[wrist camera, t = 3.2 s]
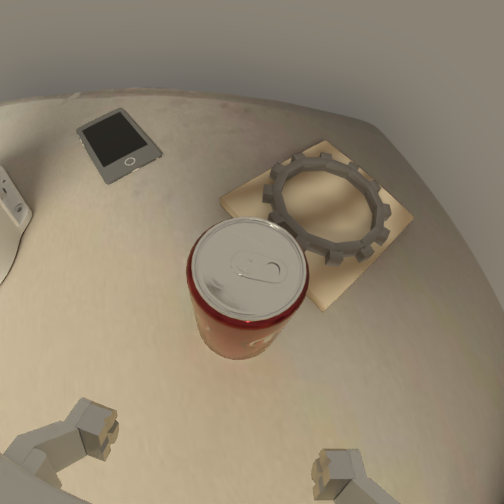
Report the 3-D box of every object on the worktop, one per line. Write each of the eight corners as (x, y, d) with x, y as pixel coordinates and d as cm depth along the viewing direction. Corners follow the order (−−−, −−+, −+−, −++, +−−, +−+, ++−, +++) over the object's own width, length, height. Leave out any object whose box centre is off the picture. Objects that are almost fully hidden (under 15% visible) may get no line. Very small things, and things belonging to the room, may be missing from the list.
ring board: (220, 204, 34) (220, 188, 32) (323, 146, 41) (328, 132, 38) (322, 312, 29) (331, 302, 27) (409, 222, 36) (419, 210, 34)
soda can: (186, 345, 26) (164, 300, 16) (213, 276, 30) (212, 198, 19) (263, 371, 26) (295, 344, 15) (285, 299, 29) (322, 232, 19)
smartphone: (76, 132, 39) (74, 129, 38) (121, 110, 42) (120, 106, 41) (107, 188, 34) (105, 184, 34) (163, 158, 37) (162, 154, 37)
